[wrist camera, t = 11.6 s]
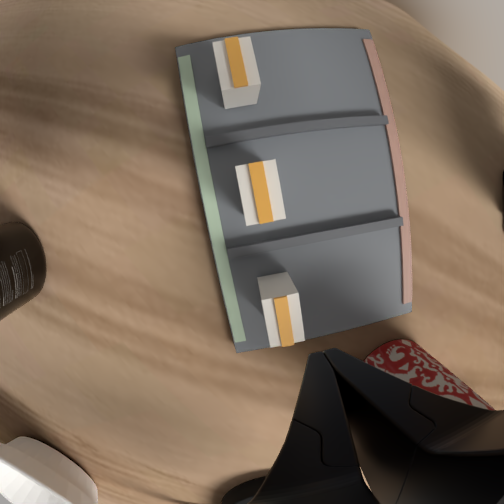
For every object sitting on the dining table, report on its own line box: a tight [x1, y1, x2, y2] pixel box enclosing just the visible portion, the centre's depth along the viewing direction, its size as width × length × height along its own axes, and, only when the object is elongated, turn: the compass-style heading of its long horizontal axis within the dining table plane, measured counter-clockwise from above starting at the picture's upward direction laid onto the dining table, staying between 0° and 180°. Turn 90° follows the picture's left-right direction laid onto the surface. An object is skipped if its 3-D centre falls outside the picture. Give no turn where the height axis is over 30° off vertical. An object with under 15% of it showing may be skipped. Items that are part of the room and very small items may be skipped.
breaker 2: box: [257, 272, 305, 348], centre depth 18 cm, size 2×3×4 cm, turn 10°
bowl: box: [0, 437, 98, 504], centre depth 22 cm, size 21×21×8 cm
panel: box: [175, 28, 412, 353], centre depth 19 cm, size 14×22×2 cm, turn 11°
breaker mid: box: [235, 159, 286, 226], centre depth 17 cm, size 2×3×4 cm, turn 10°
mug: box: [363, 339, 495, 410], centre depth 17 cm, size 13×9×14 cm
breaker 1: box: [212, 36, 261, 109], centre depth 15 cm, size 2×3×4 cm, turn 10°
